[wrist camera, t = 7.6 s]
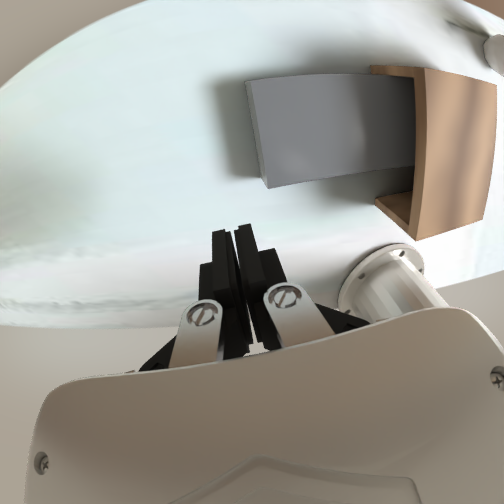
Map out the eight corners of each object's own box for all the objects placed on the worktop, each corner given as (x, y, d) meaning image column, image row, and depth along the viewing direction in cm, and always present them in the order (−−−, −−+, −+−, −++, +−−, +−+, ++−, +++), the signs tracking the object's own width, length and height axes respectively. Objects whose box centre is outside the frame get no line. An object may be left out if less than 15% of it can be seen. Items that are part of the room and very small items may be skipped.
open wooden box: (445, 74, 18) (496, 85, 12) (442, 191, 26) (482, 219, 20) (370, 65, 17) (424, 67, 12) (374, 205, 25) (415, 241, 20)
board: (411, 77, 19) (433, 80, 16) (413, 154, 23) (432, 163, 21) (243, 81, 18) (250, 80, 15) (259, 176, 22) (267, 189, 20)
